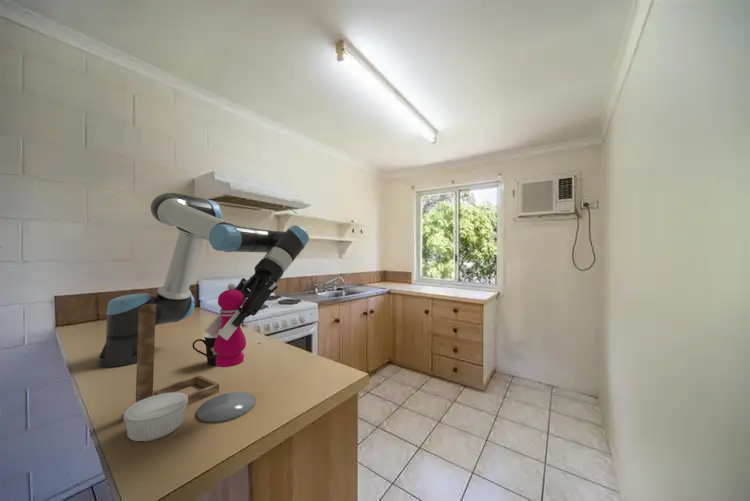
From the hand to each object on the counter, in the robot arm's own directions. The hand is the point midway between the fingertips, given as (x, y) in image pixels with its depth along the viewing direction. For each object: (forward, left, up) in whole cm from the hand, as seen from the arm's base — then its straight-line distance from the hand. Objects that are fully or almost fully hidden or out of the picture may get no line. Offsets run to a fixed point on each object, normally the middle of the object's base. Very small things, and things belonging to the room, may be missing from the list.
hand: (215, 335), depth 65 cm
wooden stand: (-11, -12, -19) cm, 25 cm away
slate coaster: (-3, +2, -19) cm, 19 cm away
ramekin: (+2, -11, -19) cm, 22 cm away
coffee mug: (-37, -9, -19) cm, 42 cm away
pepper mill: (-2, +3, -8) cm, 9 cm away
